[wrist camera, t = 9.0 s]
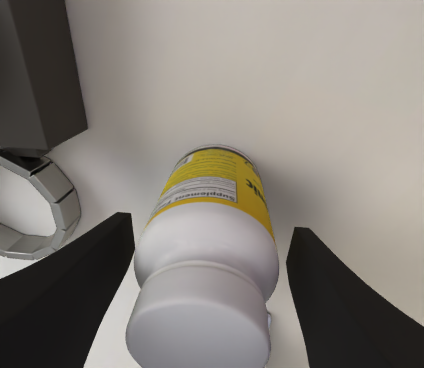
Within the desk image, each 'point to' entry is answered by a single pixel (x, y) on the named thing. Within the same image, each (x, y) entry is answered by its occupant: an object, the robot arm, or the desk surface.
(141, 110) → the desk surface
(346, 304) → the robot arm
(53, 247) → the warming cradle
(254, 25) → the desk surface
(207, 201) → the supplement bottle
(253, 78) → the desk surface
